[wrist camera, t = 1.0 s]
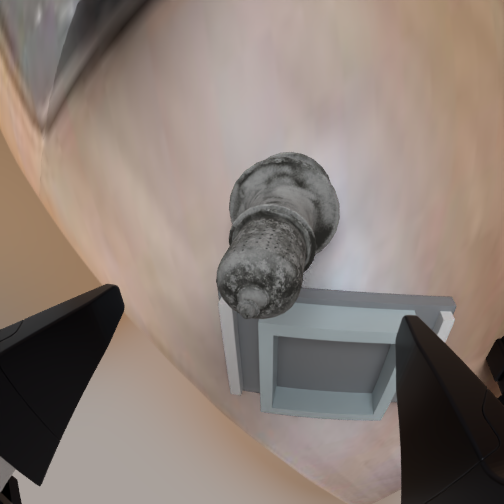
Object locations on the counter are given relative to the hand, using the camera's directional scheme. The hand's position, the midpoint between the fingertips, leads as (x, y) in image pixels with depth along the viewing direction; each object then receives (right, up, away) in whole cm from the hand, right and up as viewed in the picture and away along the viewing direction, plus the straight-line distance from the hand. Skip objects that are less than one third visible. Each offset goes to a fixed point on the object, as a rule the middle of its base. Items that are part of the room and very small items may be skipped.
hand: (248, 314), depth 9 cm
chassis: (+7, -6, +15) cm, 18 cm away
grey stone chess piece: (+3, +6, +10) cm, 12 cm away
